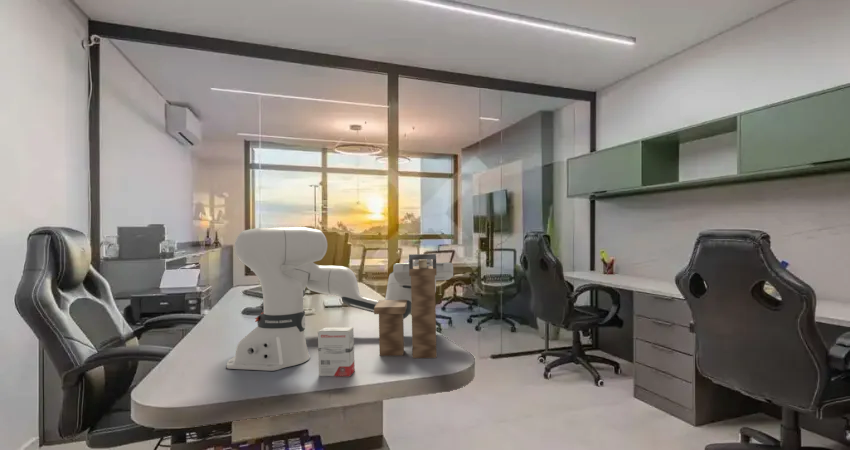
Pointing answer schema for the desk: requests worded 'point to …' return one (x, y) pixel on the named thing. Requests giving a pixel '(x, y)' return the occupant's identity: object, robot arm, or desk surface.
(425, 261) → the handle
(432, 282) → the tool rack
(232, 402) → the desk surface
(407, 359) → the desk surface
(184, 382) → the desk surface
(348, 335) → the ink box
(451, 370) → the desk surface
